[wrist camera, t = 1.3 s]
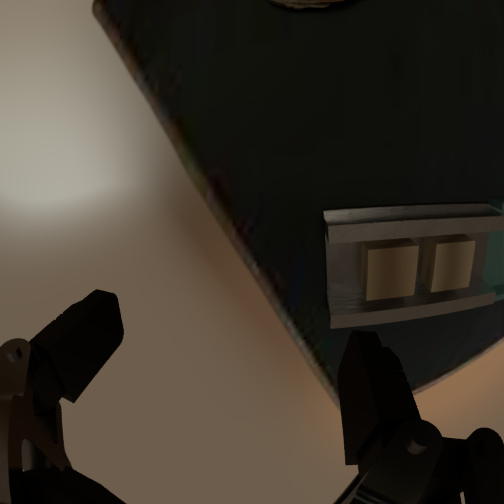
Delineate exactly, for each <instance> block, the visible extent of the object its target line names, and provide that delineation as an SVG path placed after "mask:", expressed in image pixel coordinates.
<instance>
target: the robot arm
mask: <svg viewBox="0 0 504 504" xmlns="http://www.w3.org/2000/svg"><path fill="white" fill-rule="evenodd" d="M123 335H124V329H123V324H122V319H121V313H120V308H119V303H118V298H117V296H116V295H115V294H114V293H110V292H106V291H102V290H98V289H96V290H95V291H93V292H92V293H90V294H89V295H88V296H87V297H85V298H84V299H83V300H82V301H79V302H77V303H75V304H73V305H71V306H70V307H69V308H68V309H66V310H65V311H64V312H63V314H60V315H59V316H58V317H57V318H56V320H53V321H52V322H51V323H50V324H48V325H47V326H46V327H45V328H44V329H43V330H42V331H40V332H39V333H38V334H37V335H36V336H35V337H34V338H33V339H31V340H30V341H29V342H28V341H27V340H25V339H21V338H16V339H11V340H9V341H7V342H5V343H4V344H3V345H2V346H1V347H0V504H126V503H125V502H123V501H122V500H121V499H119V498H118V497H116V496H115V495H114V494H112V493H111V492H110V491H109V490H107V489H106V488H104V486H102V485H101V484H99V483H97V482H95V481H94V480H92V479H90V478H88V477H86V476H84V475H82V474H81V473H79V472H77V471H76V470H74V469H73V468H72V466H71V463H70V461H69V459H68V458H67V455H66V453H65V449H64V440H63V429H62V412H61V405H60V403H59V400H60V399H61V398H62V397H63V398H65V399H67V400H69V401H70V402H72V403H75V401H76V400H77V399H78V397H79V396H80V395H81V393H82V392H83V391H84V390H85V388H86V387H87V386H88V384H89V383H90V382H91V381H92V379H93V378H94V377H95V375H96V374H97V373H98V372H99V370H100V369H101V368H102V367H103V365H104V364H105V363H106V362H107V360H108V359H109V358H110V356H111V355H112V354H113V353H114V352H115V350H116V349H117V348H118V347H119V345H120V344H121V342H122V340H123ZM337 383H338V391H339V399H340V408H341V417H342V427H343V437H344V450H345V464H346V465H358V470H359V473H358V474H357V475H356V477H355V478H354V479H353V480H352V482H351V483H350V484H349V485H348V487H347V488H346V489H345V490H344V492H343V493H342V494H341V495H340V496H339V497H338V499H337V500H336V501H335V502H334V503H333V504H462V503H461V497H460V493H461V492H464V497H465V504H504V444H503V441H502V439H501V437H500V436H499V434H498V433H497V432H495V431H494V430H492V429H490V428H479V429H477V430H475V431H474V432H473V433H472V434H471V435H470V436H469V437H468V438H467V439H455V438H446V437H442V435H441V433H440V431H439V430H438V429H437V428H436V427H435V426H434V425H433V424H431V423H430V422H428V421H425V420H422V419H421V417H420V414H419V411H418V408H417V405H416V402H415V400H414V397H413V394H412V391H411V389H410V386H409V383H408V382H407V378H406V375H405V373H404V372H403V368H402V365H401V363H400V360H399V358H398V357H397V356H396V355H395V354H394V353H393V351H392V350H391V349H390V348H389V347H382V345H381V342H380V340H379V337H378V335H377V333H376V332H375V331H361V330H353V331H352V332H351V334H350V336H349V339H348V343H347V346H346V348H345V351H344V354H343V357H342V360H341V363H340V366H339V370H338V378H337ZM23 469H24V471H23Z"/></svg>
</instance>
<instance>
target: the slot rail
mask: <svg viewBox="0 0 504 504" xmlns="http://www.w3.org/2000/svg"><path fill="white" fill-rule="evenodd" d="M323 222H324V238H325V257H326V284H327V312H328V315H329V322H330V329H332V328H344V327H354V326H364V325H373V324H381V323H389V322H397V321H404V320H411V319H417V318H423V317H429V316H435V315H441V314H446V313H452V312H457V311H462V310H466V309H471V308H476V307H480V306H485V305H489V304H493V303H494V299H495V296H496V291H495V290H494V289H493V288H492V287H491V286H490V285H489V284H488V283H487V282H485V281H484V280H483V279H482V275H483V270H484V264H485V258H486V251H487V243H488V235H489V232H491V231H504V214H503V213H501V212H498V211H496V210H494V209H491V204H490V203H488V202H446V203H416V204H393V205H374V206H358V207H343V208H329V209H323ZM451 234H466V235H467V236H469V237H470V238H472V239H474V240H475V250H474V257H473V264H472V270H471V276H470V281H469V286H468V287H464V288H458V289H452V290H445V291H439V292H432V293H431V292H430V291H429V290H428V288H427V287H426V286H425V285H424V283H423V282H422V281H421V280H420V278H421V269H422V258H423V245H424V237H425V236H438V235H451ZM398 238H410V239H412V240H413V241H414V242H415V243H416V244H417V245H418V246H419V250H418V263H417V273H416V282H415V290H414V295H410V296H402V297H394V298H385V299H376V300H367V301H366V298H365V296H364V293H363V291H362V289H361V286H360V283H361V241H372V240H385V239H398Z"/></svg>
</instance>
